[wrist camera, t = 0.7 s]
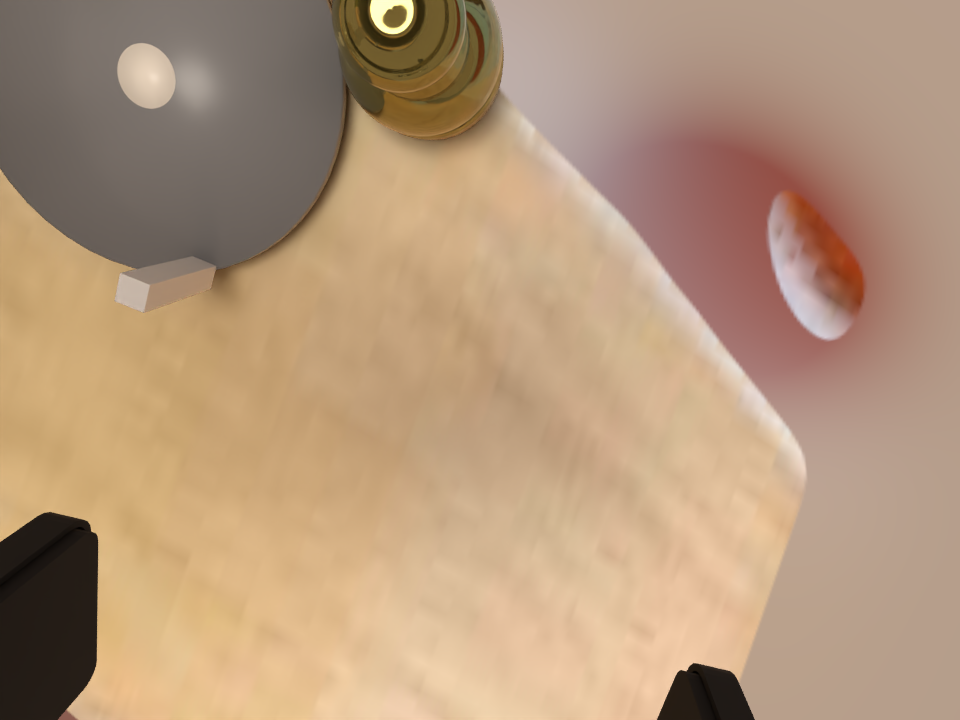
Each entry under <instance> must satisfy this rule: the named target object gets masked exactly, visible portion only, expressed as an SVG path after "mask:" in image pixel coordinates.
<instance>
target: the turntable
mask: <svg viewBox="0 0 960 720" xmlns="http://www.w3.org/2000/svg"><path fill="white" fill-rule="evenodd" d="M345 110H346V81H345V79H344V76H343V73H342V69H341V66H340V61H339V55H338V44H337V41H336V38H335V34H334V30H333V24H332V9H331V6H330V3H329V1H328V0H0V169H1V170H2V172H3V173H4V175H5V176H6V177H7V179H8V180H9V182H10V183H11V184H12V185H13V186H14V188H15V189H16V190H17V191H18V192H19V193H20V195H21V196H22V197H23V198H24V199H25V200H26V202H27V203H28V204H29V205H30V206H32V207H33V208H34V209H35V210H36V211H37V212H38V213H39V214H40V215H41V216H42V217H43V218H44V219H45V220H46V221H47V222H49V223H50V224H51V225H53V226H54V227H55V228H56V229H58V230H59V231H60V232H62V233H63V234H64V235H65V236H67V237H68V238H70V239H72V240H73V241H75V242H76V243H78V244H80V245H81V246H83V247H85V248H86V249H88V250H90V251H92V252H94V253H96V254H98V255H100V256H103V257H105V258H107V259H109V260H111V261H114V262H117V263H120V264H123V265H126V266H129V267H132V268H136V269H135V270H131V271H127V272H122V273H120V276H119V281H118V286H117V291H116V296H115V302H118V303H120V304H123V305H125V306H128V307H130V308H133V309H135V310H138V311H140V312H143V313H145V312H148V311H150V310H153V309H156V308H159V307H162V306H165V305H167V304H170V303H173V302H176V301H179V300H181V299H184V298H187V297H190V296H193V295H196V294H198V293H201V292H204V291H207V290H210V289H211V286H212V282H213V278H214V274H215V270H218V269H222V268H226V267H229V266H232V265H235V264H238V263H240V262H243V261H246V260H249V259H251V258H253V257H255V256H257V255H259V254H260V253H262V252H264V251H266V250H268V249H270V248H271V247H272V246H274V245H275V244H276V243H278V242H279V241H280V240H282V239H283V238H284V237H286V236H287V235H288V234H289V233H290V232H291V231H292V230H293V229H294V228H295V227H296V226H297V225H298V224H299V223H300V222H301V221H302V220H303V219H304V217H305V216H306V215H307V213H308V212H309V211H310V209H311V208H312V207H313V205H314V204H315V202H316V201H317V200H318V198H319V196H320V194H321V192H322V190H323V188H324V187H325V185H326V183H327V181H328V179H329V176H330V174H331V171H332V169H333V166H334V163H335V161H336V158H337V155H338V151H339V146H340V142H341V138H342V134H343V128H344V119H345Z"/></svg>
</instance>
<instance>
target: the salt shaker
mask: <svg viewBox="0 0 960 720" xmlns="http://www.w3.org/2000/svg"><path fill="white" fill-rule="evenodd" d="M332 24H333V30H334V34H335V38H336V41H337V44H338V55H339V61H340V66H341V69H342V73H343V76H344V79H345V81H346V83H347V86H348V88H349V90H350V91H351V93H352V95H353V96H354V98H355V99H356V101H357V102H358V103H359V105H360V106H361V107H362V108H363V109H364V110H365V112H366V113H368V114H369V115H370V116H371V117H372V118H373V119H375V120H376V121H377V122H379V123H380V124H382V125H383V126H385V127H387V128H389V129H391V130H394V131H396V132H398V133H401V134H403V135H406V136H409V137H413V138H419V139H425V140H441V139H447V138H451V137H454V136H457V135H459V134H461V133H463V132H465V131H467V130H468V129H470V128H471V127H473V126H474V125H475V124H476V123H477V122H478V121H480V119H481V118H482V117H483V116H484V115H485V114H486V112H487V111H488V110H489V108H490V107H491V105H492V103H493V101H494V99H495V97H496V95H497V92H498V89H499V86H500V82H501V77H502V68H503V42H502V32H501V26H500V22H499V17H498V14H497V11H496V9H495V6H494V4H493V2H492V0H333V2H332Z"/></svg>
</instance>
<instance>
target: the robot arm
mask: <svg viewBox="0 0 960 720" xmlns="http://www.w3.org/2000/svg"><path fill="white" fill-rule="evenodd" d="M97 590H98V537H97V535H96V533H93V532H91V527H90V524H89V523H88V521H85V520H82V519H77V518H73V517H69V516H65V515H60V514H56V513H52V512H48V513H43V514H41V515H39V516H37V517H36V518H34V519H33V520H32V521H30V522H29V523H27V524H26V525H24V526H23V527H21V528H20V529H19V530H17V531H16V532H14V533H13V534H11V535H10V536H8V537H7V538H6V539H4V540H3V541H1V542H0V720H58V719H59V717H60V716H61V715H62V714H63V713H64V712H65V710H66V709H67V708H68V707H69V706H70V705H71V703H72V702H73V701H74V700H75V699H76V698H77V697H78V695H79V694H80V693H81V692H82V691H83V690H84V688H85V687H86V686H87V684H88V682H89V681H90V679H91V677H92V675H93V673H94V670H95V667H96V662H97ZM657 720H755V719H754V717H753V714H752V712H751V710H750V708H749V706H748V703H747V701H746V698H745V696H744V694H743V692H742V689H741V687H740V685H739V682H738V680H737V678H736V677H735V675H734V674H733V673H732V672H730V671H727V670H722V669H718V668H714V667H710V666H705V665H701V664H696V663H693V664H692V665H690V667H689V668H688V670H687V671H682V670H680V671H679V672H678V673H677V675H676V676H675V679H674V681H673V683H672V686H671V688H670V690H669V693H668V695H667V697H666V700H665V702H664V704H663V707H662V709H661V711H660V714H659V716H658V718H657Z"/></svg>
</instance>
